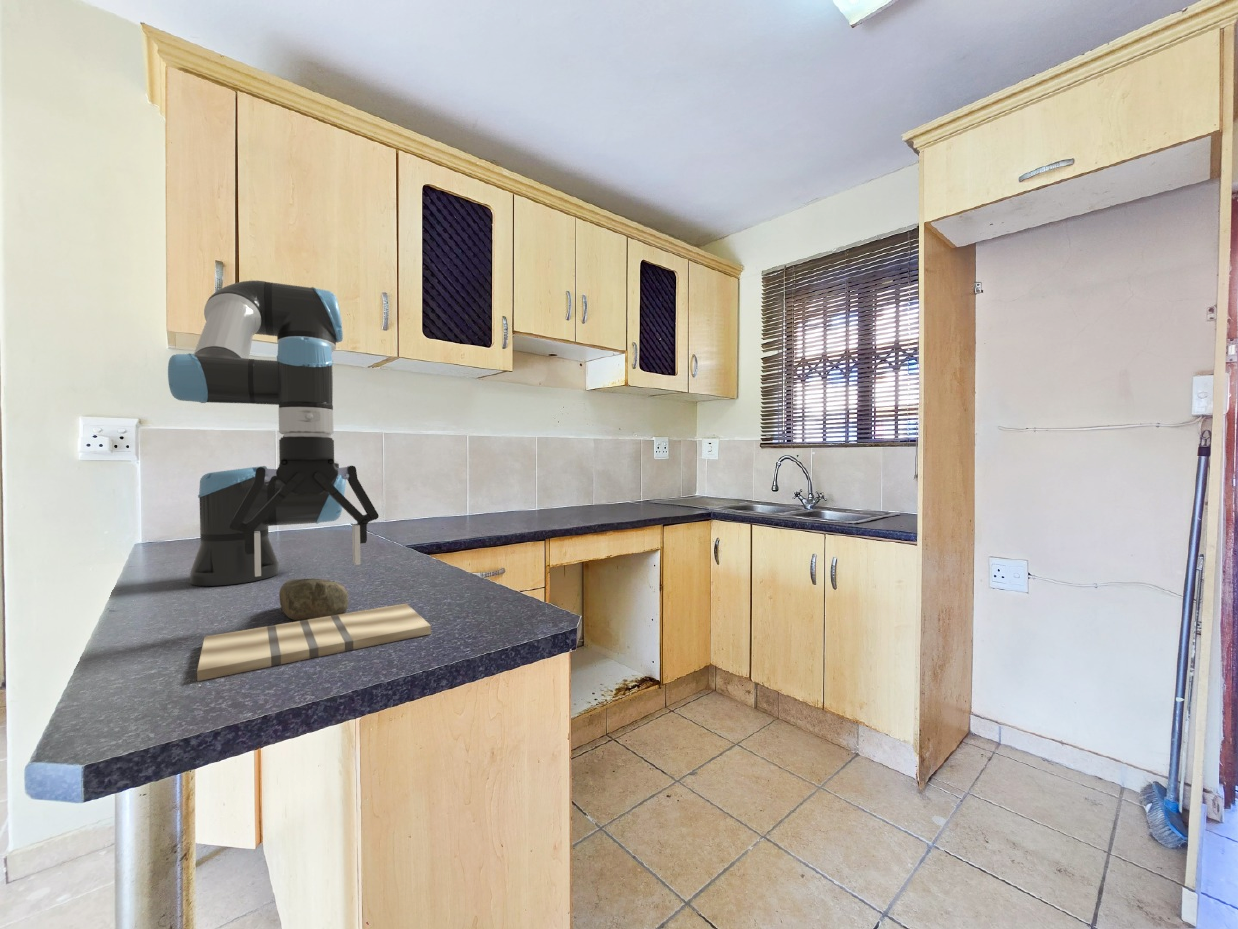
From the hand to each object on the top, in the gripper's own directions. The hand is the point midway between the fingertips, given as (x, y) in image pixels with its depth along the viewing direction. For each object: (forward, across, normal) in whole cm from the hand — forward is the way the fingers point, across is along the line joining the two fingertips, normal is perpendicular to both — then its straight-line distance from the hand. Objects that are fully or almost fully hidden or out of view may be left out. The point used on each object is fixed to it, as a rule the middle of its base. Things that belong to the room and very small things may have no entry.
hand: (309, 569), depth 83 cm
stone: (+8, 0, +2) cm, 8 cm away
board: (+8, 0, -13) cm, 15 cm away
